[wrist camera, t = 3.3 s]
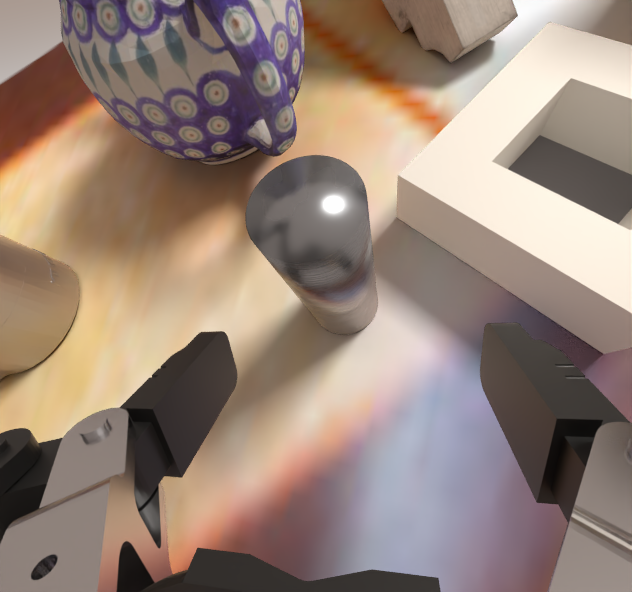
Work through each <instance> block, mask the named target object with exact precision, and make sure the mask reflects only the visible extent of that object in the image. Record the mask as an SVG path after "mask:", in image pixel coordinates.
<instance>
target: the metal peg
mask: <svg viewBox="0 0 632 592" xmlns="http://www.w3.org/2000/svg"><path fill="white" fill-rule="evenodd" d="M246 227H247V231H248V234H249V236H250V238H251V240H252V241H253V243H254V244H255V245H256V247H257V248H258V249H259V250H260V251H261V253H262V254H263V255H264V256H265V257H266V259H267V260H268V261H269V262H270V264H271V265H272V266H273V267H274V268H275V270H276V271H277V272H278V273H279V275H280V276H281V277H282V278H283V279H284V281H285V282H286V283H287V284H288V285H289V287H290V288H291V289H292V290H293V292H294V293H295V294H296V295H297V296H298V298H299V299H300V300H301V301H302V303H303V304H304V305H305V306H306V307H307V309H308V310H309V311H310V312H311V313H312V315H313V316H314V317H315V318H316V320H317V321H318V322H319V323H320V324H321V325H322V326H323V327H324V328H325V329H326V330H328V331H330V332H332V333H335V334H340V335H348V334H353V333H356V332H359V331H361V330H363V329H364V328H365V327H367V326H368V325H369V324H370V322H371V321H372V320H373V318H374V317H375V314H376V312H377V307H378V297H377V288H376V278H375V269H374V259H373V250H372V240H371V231H370V221H369V212H368V202H367V194H366V189H365V185H364V183H363V181H362V179H361V177H360V176H359V174H358V173H357V172H356V171H355V170H354V169H353V168H352V167H351V166H349V165H348V164H347V163H345V162H343V161H341V160H339V159H336V158H333V157H329V156H321V155H311V156H304V157H299V158H296V159H292V160H290V161H287V162H285V163H283V164H281V165H279V166H278V167H276V168H275V169H273V170H272V171H270V172H269V173H268V174H267V175H266V176H265V177H264V178H263V179H262V180H261V181H260V182H259V183H258V185H257V186H256V187H255V189H254V191H253V192H252V194H251V196H250V198H249V201H248V204H247V208H246Z"/></svg>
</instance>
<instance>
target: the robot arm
mask: <svg viewBox="0 0 632 592" xmlns="http://www.w3.org/2000/svg"><path fill="white" fill-rule="evenodd" d="M78 303H79V284H78V280H77V277H76V275H75V273H74V272H73V270H72V269H71V268H70V267H69V266H68V265H66V264H64V263H62V262H60V261H58V260H56V259H53V258H51V257H49V256H47V255H46V254H44V253H41V252H39V251H37V250H35V249H31V248H29V247H26V246H24V245H22V244H20V243H17V242H15V241H13V240H11V239H9V238H7V237H4V236H2V235H0V380H1V379H2V378H3V377H5V376H6V375H9V374H13V373H18V372H22V371H25V370H27V369H29V368H31V367H33V366H35V365H36V364H38V363H39V362H41V361H42V360H44V359H45V358H46V357H47V356H48V355H49V354H50V353H51V352H52V351H54V350H55V348H56V347H57V346H58V345H59V343H60V342H61V341H62V340H63V338H64V337H65V335H66V333H67V332H68V330H69V328H70V327H71V324H72V322H73V320H74V317H75V315H76V311H77V307H78ZM480 377H481V383H482V387H483V390H484V392H485V395H486V397H487V399H488V401H489V403H490V405H491V407H492V409H493V411H494V413H495V416H496V418H497V420H498V422H499V424H500V426H501V428H502V430H503V432H504V435H505V437H506V439H507V441H508V443H509V445H510V447H511V449H512V451H513V453H514V456H515V458H516V460H517V462H518V464H519V466H520V468H521V470H522V472H523V474H524V477H525V479H526V481H527V483H528V485H529V487H530V489H531V491H532V493H533V496H534V498H535V500H536V502H537V503H548V504H558V505H559V507H560V508H561V510H562V512H563V514H564V516H565V518H566V520H567V521H568V525H567V528H566V532H565V535H564V538H563V542H562V545H561V548H560V552H559V555H558V558H557V562H556V565H555V568H554V572H553V575H552V578H551V582H550V585H549V588H548V592H632V423H630V422H629V421H628V420H627V419H626V418H625V417H624V416H623V415H622V414H621V413H620V412H619V410H618V409H617V408H616V407H615V406H614V405H613V404H612V403H611V402H610V401H609V400H608V399H607V398H606V397H605V396H604V395H603V394H602V393H601V392H600V391H599V390H598V389H597V388H596V387H595V386H594V385H593V384H592V383H591V382H590V380H589V379H585V375H584V374H583V373H582V372H581V371H580V370H579V369H578V368H577V367H574V364H573V363H572V362H571V361H570V360H569V359H568V358H567V357H566V356H565V355H564V354H563V353H562V352H561V351H560V350H558V349H557V348H555V347H553V346H551V345H549V344H548V343H546V342H544V341H542V340H533V339H532V338H531V337H530V336H529V334H528V333H527V332H526V331H525V330H524V329H523V328H522V326H521V325H520V324H518V323H488V324H486V326H485V329H484V336H483V346H482V356H481V366H480ZM236 382H237V369H236V365H235V362H234V358H233V354H232V351H231V347H230V343H229V340H228V337H227V335H226V333H225V332H222V331H220V332H201V333H199V334H198V335H197V336H196V337H195V338H194V339H193V340H192V341H191V342H190V343H189V344H188V345H187V346H186V347H185V348H183V349H182V350H180V351H179V352H177V353H175V354H174V355H172V356H171V357H170V358H169V359H168V360H167V361H166V362H165V363H164V364H163V365H162V366H161V369H158V370H157V371H156V372H155V373H154V374H153V375H152V378H149V379H148V380H147V381H146V382H145V383H144V384H143V385H142V386H141V387H140V388H139V389H138V390H137V391H136V392H135V393H134V394H133V395H132V396H131V397H130V398H129V399H128V400H127V401H126V402H125V403H124V404H123V405H122V406H121V407H120V408H110V409H106V410H102V411H99V412H97V413H95V414H92V415H90V416H88V417H87V418H85V419H83V420H82V421H80V422H79V423H77V424H76V425H75V426H74V427H72V428H71V429H70V430H69V431H68V432H67V433H66V435H65V436H64V437H63V438H60V439H56V440H51V441H47V442H42V443H38V442H37V441H36V439H35V438H34V436H33V434H32V433H31V431H30V430H28V429H25V428H19V429H13V430H9V431H6V432H3V433H1V434H0V592H440V586H439V580H438V578H435V577H427V576H419V575H411V574H403V573H395V572H387V571H379V570H367V571H362V572H357V573H352V574H346V575H341V576H336V577H331V578H326V579H320V580H315V581H302V580H300V579H298V578H296V577H294V576H292V575H290V574H288V573H286V572H284V571H282V570H280V569H278V568H276V567H274V566H272V565H270V564H268V563H266V562H264V561H262V560H260V559H258V558H256V557H254V556H252V555H250V554H243V553H235V552H227V551H219V550H211V549H203V548H197V550H196V553H195V555H194V557H193V559H192V562H191V564H190V566H189V568H188V570H185V571H182V572H179V573H176V574H172V571H171V567H170V562H169V554H168V540H167V525H166V510H165V495H164V489H163V487H162V484H161V482H160V481H161V480H162V478H163V477H164V476H170V477H183V475H184V473H185V472H186V470H187V468H188V466H189V465H190V463H191V461H192V460H193V458H194V456H195V455H196V453H197V451H198V450H199V448H200V446H201V444H202V443H203V441H204V439H205V438H206V436H207V434H208V433H209V431H210V429H211V427H212V426H213V424H214V422H215V421H216V419H217V417H218V416H219V414H220V412H221V411H222V409H223V407H224V405H225V404H226V402H227V400H228V399H229V397H230V395H231V394H232V392H233V390H234V388H235V386H236Z"/></svg>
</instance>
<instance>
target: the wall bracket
mask: <svg viewBox="0 0 632 592" xmlns="http://www.w3.org/2000/svg"><path fill="white" fill-rule="evenodd" d="M382 2H383V4H384V5H385V7H386V9H387V11H388V12H389V14H390V16H391V18H392V19H393V21H394V23H395V25H396V26H397V28H398V30H399V31H401V32H402V33H403V32H404V31H406V30H408V29H409V28H411V27H413V29H414V31H415V34H416V36H417V38H418V40H419V43H420V45H421V47H422V48H423V49H424V50H425V51H426V50H432V49H434V50H436V51H438V52H440V53H442V54H443V55H444V56H445V57H446V59H447V60H448V61H449V62H450V63H452V62H453V61H455V60H457V59H458V58H460V57H461V56H463V55H465V54H466V53H468V52H469V51H471V50H473V49H474V48H476V47H478V46H479V45H481V44H482V43H484V42H486V41H487V40H489V39H490V38H492V37H494V36H495V35H497V34H499V33H500V32H501V31H502V30H503V29H504V28H506V27H507V26H508V25H509V24H510V23H511V22H512V21H513V20H514V19H515V18H516V17H517V16H518V15H517V12H516V9H515V7H514V4H513V1H512V0H382Z"/></svg>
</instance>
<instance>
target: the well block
mask: <svg viewBox="0 0 632 592" xmlns="http://www.w3.org/2000/svg"><path fill="white" fill-rule="evenodd" d="M396 217H397V218H398V219H400V220H401V221H403V222H404V223H406V224H407V225H409V226H410V227H412V228H413V229H415V230H417V231H418V232H420V233H421V234H423V235H424V236H426V237H427V238H429V239H430V240H432V241H433V242H435V243H436V244H438V245H439V246H441V247H442V248H444V249H445V250H447V251H448V252H450V253H451V254H453V255H454V256H456V257H457V258H459V259H460V260H462V261H463V262H465V263H467V264H468V265H470V266H471V267H473V268H474V269H476V270H477V271H479V272H480V273H482V274H483V275H485V276H486V277H488V278H489V279H491V280H492V281H494V282H495V283H497V284H498V285H500V286H501V287H503V288H504V289H506V290H507V291H509V292H510V293H512V294H514V295H515V296H517V297H518V298H520V299H521V300H523V301H524V302H526V303H527V304H529V305H530V306H532V307H533V308H535V309H536V310H538V311H539V312H541V313H542V314H544V315H545V316H547V317H548V318H550V319H551V320H553V321H554V322H556V323H557V324H559V325H560V326H562V327H564V328H565V329H567V330H568V331H570V332H571V333H573V334H574V335H576V336H577V337H579V338H580V339H582V340H583V341H585V342H586V343H588V344H589V345H591V346H592V347H594V348H595V349H597V350H598V351H600V352H601V353H603V354H607V353H611V352H615V351H619V350H623V349H627V348H631V347H632V45H629V44H626V43H622V42H619V41H615V40H612V39H608V38H605V37H601V36H598V35H594V34H591V33H587V32H583V31H580V30H576V29H573V28H569V27H566V26H562V25H559V24H555V23H552V22H549V23H548V24H547V25H546V26H545V27H544V28H543V29H542V30H541V31H540V32H539V33H538V34H537V35H536V36H535V37H534V38H533V39H532V40H531V41H530V42H529V43H528V44H527V45H526V46H525V47H524V48H523V49H522V50H521V51H520V52H519V53H518V54H517V55H516V56H515V57H514V58H513V59H512V60H511V61H510V62H509V63H508V64H507V65H506V66H505V67H504V68H503V69H502V70H501V71H500V72H499V73H498V74H497V75H496V76H495V77H494V78H493V79H492V80H491V81H490V82H489V83H488V84H487V85H486V86H485V87H484V88H483V89H482V90H481V91H480V92H479V93H478V94H477V95H476V96H475V97H474V98H473V99H472V100H471V101H470V103H469V104H468V105H467V106H466V107H465V108H464V109H463V110H462V111H461V112H460V113H459V114H458V115H457V116H456V117H455V118H454V119H453V120H452V121H451V122H450V123H449V124H448V125H447V126H446V127H445V128H444V129H443V130H442V131H441V132H440V133H439V134H438V135H437V136H436V137H435V138H434V139H433V140H432V141H431V142H430V143H429V144H428V145H427V146H426V147H425V148H424V149H423V150H422V151H421V152H420V153H419V154H418V155H417V156H416V157H415V158H414V159H413V160H412V161H411V162H410V163H409V164H408V165H407V166H406V167H405V168H404V169H403V170H402V171H401V172H400V173H399V174H398V186H397V213H396Z"/></svg>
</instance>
